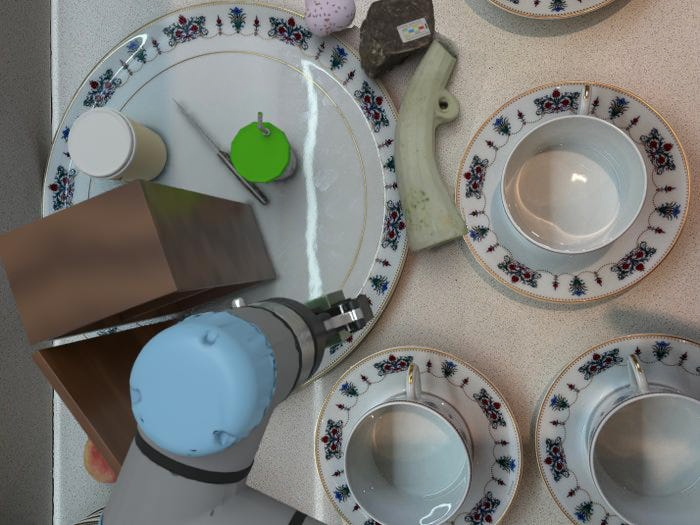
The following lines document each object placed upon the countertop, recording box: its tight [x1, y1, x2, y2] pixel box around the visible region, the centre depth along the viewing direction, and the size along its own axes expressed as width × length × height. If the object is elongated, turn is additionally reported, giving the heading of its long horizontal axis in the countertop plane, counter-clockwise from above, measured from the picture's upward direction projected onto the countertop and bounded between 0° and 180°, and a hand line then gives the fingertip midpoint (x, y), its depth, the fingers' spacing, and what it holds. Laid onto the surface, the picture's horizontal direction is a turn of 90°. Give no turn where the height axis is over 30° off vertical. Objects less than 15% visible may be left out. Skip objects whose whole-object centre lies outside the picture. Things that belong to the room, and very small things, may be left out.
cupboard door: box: [30, 316, 184, 478], centre depth 80 cm, size 7×16×34 cm, turn 38°
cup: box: [229, 111, 298, 184], centre depth 87 cm, size 8×8×15 cm
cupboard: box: [0, 179, 277, 347], centre depth 79 cm, size 11×16×34 cm
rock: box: [358, 0, 436, 81], centre depth 88 cm, size 10×7×8 cm
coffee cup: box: [67, 106, 168, 182], centre depth 92 cm, size 9×9×12 cm
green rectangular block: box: [301, 289, 357, 350], centre depth 70 cm, size 5×5×9 cm
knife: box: [172, 98, 268, 205], centre depth 94 cm, size 20×1×3 cm, turn 42°
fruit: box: [82, 438, 117, 484], centre depth 95 cm, size 8×8×8 cm
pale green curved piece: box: [393, 38, 470, 255], centre depth 87 cm, size 28×8×10 cm
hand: (327, 318), depth 74 cm, fingers closed on green rectangular block, 5 cm apart
